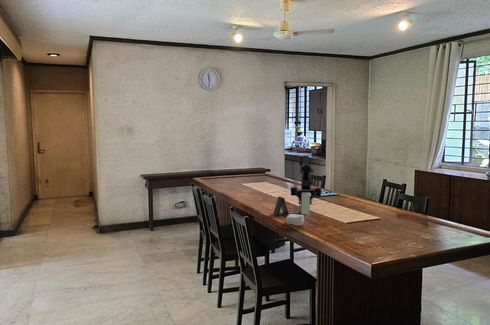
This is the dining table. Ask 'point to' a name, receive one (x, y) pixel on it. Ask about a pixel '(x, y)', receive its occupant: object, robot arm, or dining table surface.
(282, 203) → the phone stand
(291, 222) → the base slab
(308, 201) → the pillar
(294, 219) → the top slab
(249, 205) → the dining table surface
